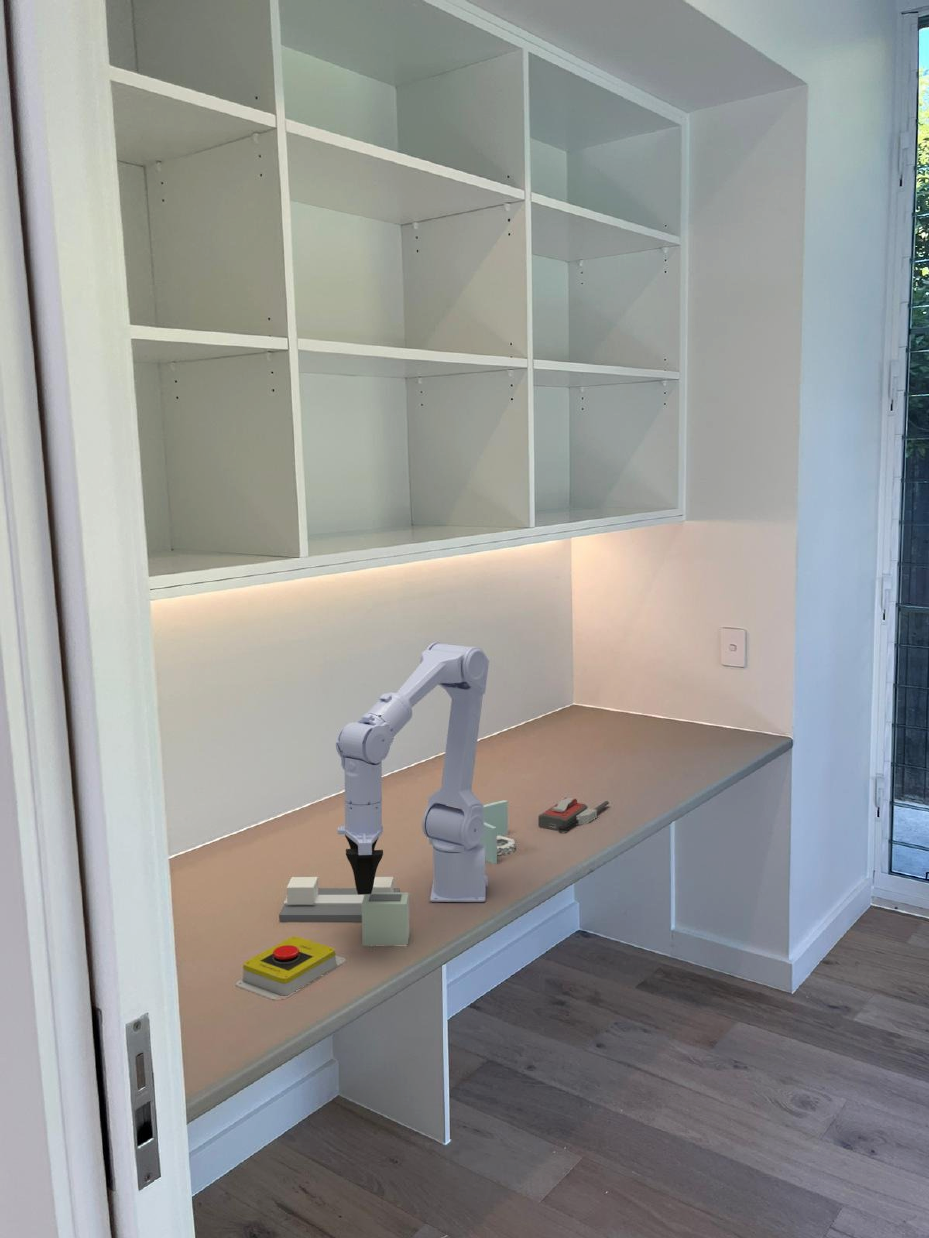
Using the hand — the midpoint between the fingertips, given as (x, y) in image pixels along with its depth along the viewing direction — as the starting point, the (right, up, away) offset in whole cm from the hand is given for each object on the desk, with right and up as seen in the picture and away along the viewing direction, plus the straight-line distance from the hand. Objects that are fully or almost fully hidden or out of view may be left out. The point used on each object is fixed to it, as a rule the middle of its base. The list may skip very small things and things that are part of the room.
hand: (363, 884), depth 165 cm
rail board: (-5, -8, +15) cm, 17 cm away
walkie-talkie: (+39, -1, +58) cm, 70 cm away
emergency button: (-10, -12, -8) cm, 17 cm away
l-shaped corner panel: (+23, -4, +42) cm, 48 cm away
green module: (+3, -10, +3) cm, 10 cm away
